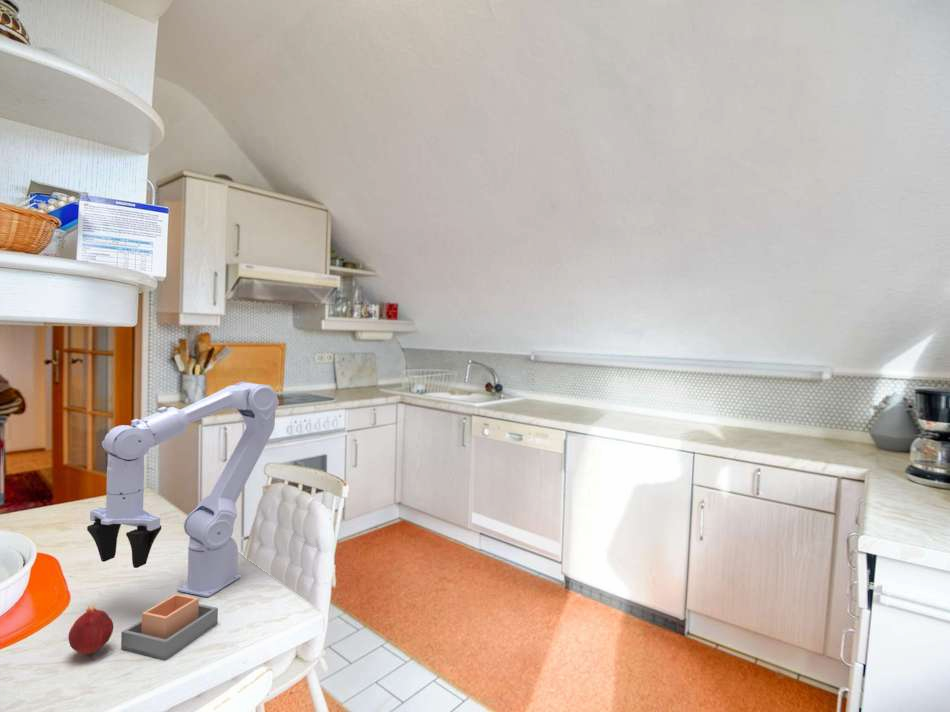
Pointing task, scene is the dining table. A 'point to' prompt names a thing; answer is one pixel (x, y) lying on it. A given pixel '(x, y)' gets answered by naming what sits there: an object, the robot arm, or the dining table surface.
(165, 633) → the small crate
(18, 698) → the dining table surface
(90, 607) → the onion
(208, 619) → the big crate
